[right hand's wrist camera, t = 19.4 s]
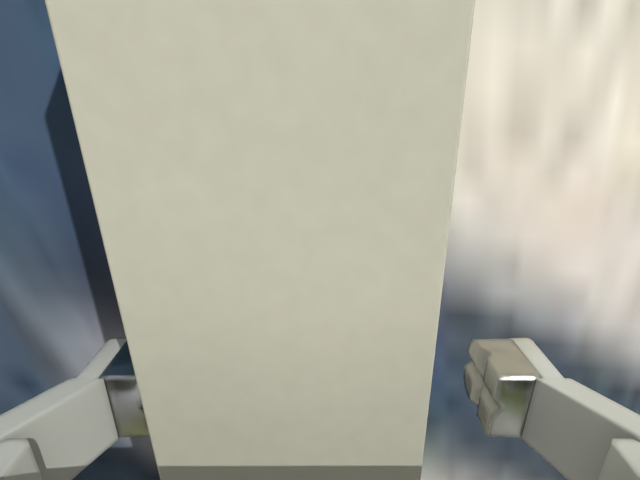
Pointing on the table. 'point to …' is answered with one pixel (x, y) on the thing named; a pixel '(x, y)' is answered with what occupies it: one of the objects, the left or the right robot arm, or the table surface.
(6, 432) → the right robot arm
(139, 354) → the box
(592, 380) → the table surface
